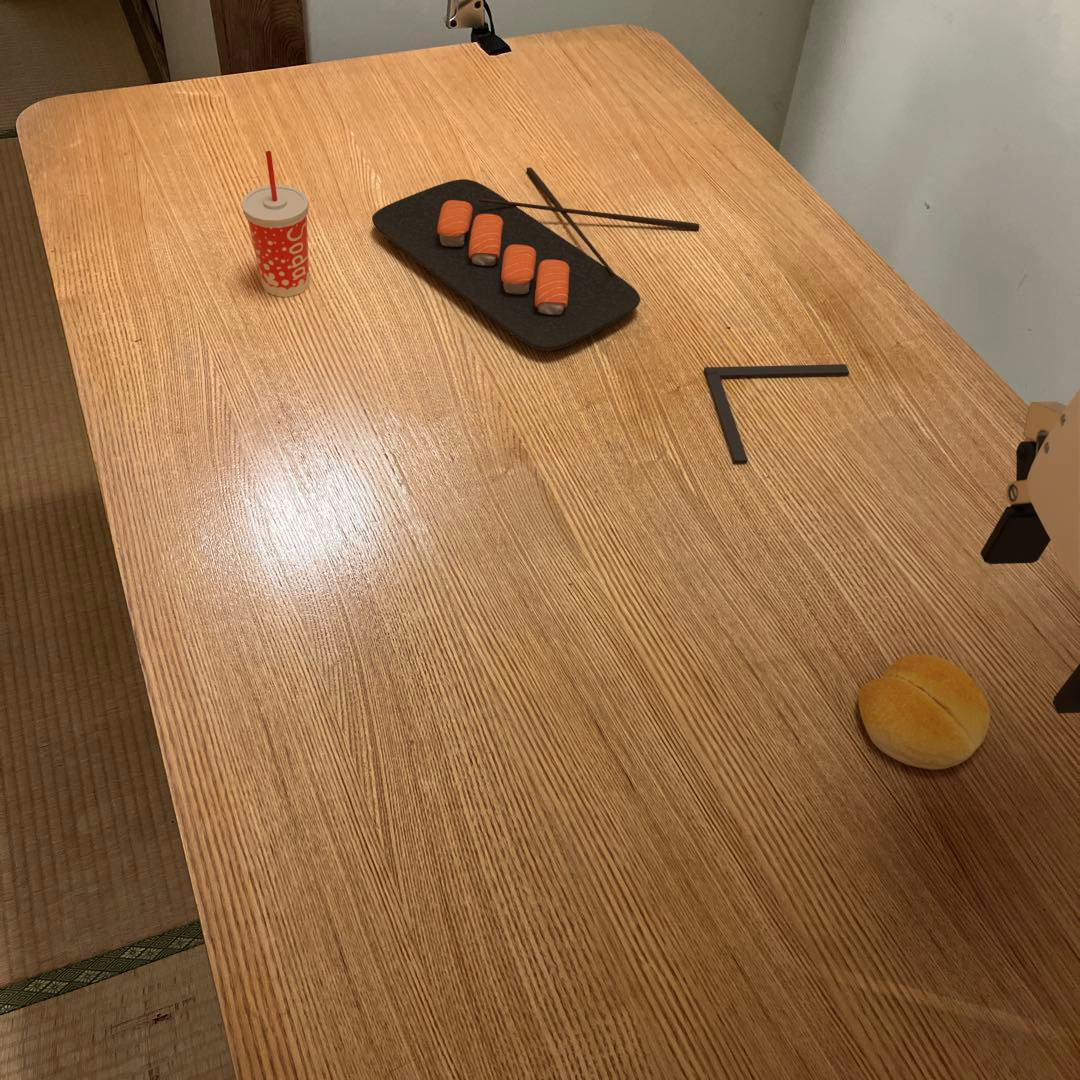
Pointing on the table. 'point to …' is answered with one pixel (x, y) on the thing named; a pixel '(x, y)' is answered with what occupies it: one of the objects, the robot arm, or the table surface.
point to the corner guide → (719, 373)
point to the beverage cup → (279, 235)
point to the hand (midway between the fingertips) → (1042, 629)
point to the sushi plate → (512, 260)
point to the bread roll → (925, 712)
